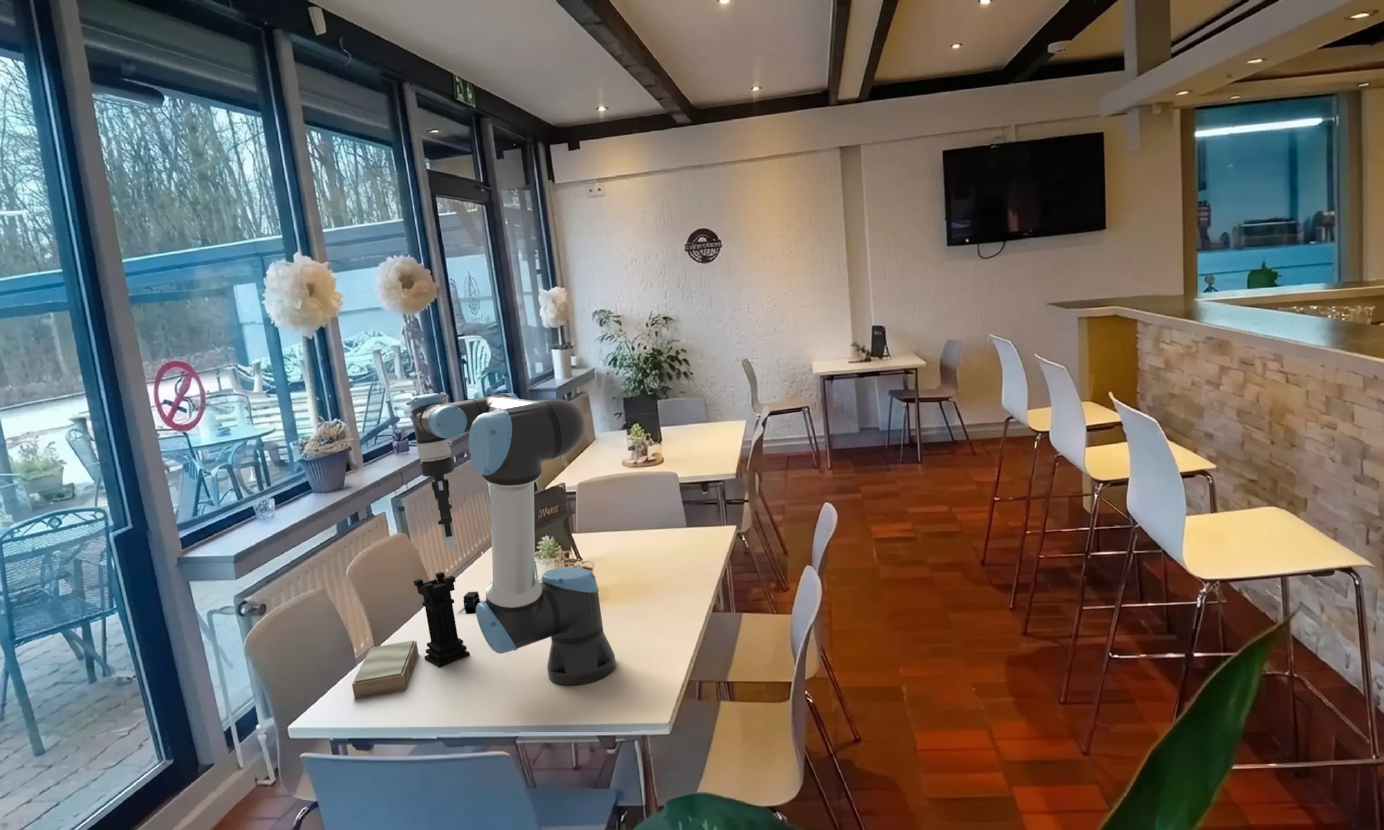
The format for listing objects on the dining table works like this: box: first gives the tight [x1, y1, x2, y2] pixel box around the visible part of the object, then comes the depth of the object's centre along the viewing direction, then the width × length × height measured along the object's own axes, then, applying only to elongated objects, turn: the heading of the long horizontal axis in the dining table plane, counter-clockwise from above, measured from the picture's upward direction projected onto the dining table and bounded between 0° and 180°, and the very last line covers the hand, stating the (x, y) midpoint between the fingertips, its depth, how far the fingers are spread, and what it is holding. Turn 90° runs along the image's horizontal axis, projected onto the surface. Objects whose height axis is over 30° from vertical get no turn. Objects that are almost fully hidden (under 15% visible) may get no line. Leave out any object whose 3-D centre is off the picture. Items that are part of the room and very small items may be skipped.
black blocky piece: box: [456, 591, 482, 616], centre depth 241 cm, size 12×7×5 cm, turn 171°
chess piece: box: [413, 571, 471, 668], centre depth 207 cm, size 8×8×20 cm
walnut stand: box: [351, 639, 419, 700], centre depth 201 cm, size 20×11×4 cm, turn 10°
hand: (449, 542), depth 211 cm, fingers open, 13 cm apart
